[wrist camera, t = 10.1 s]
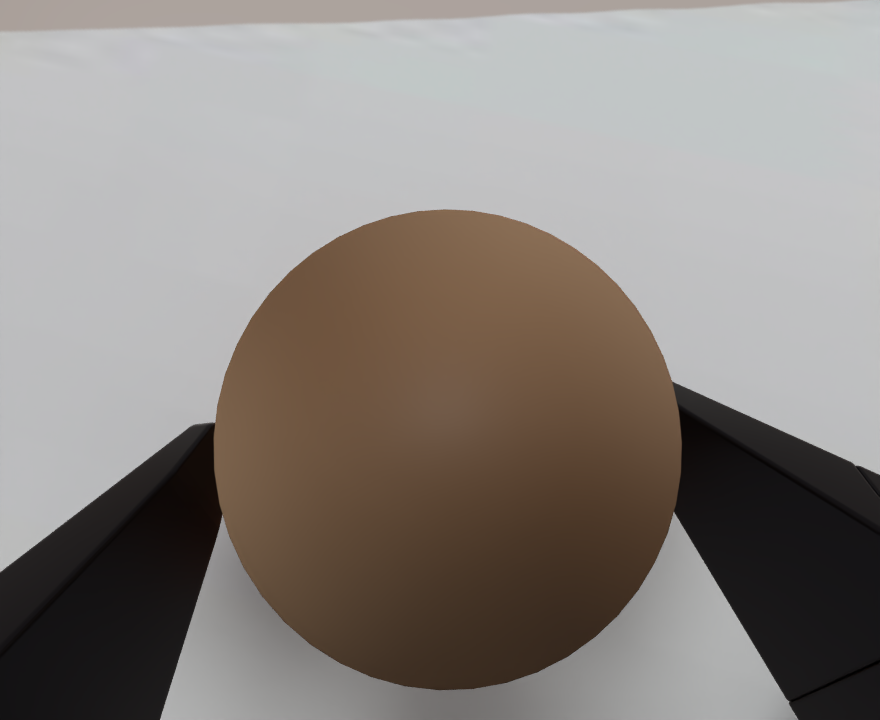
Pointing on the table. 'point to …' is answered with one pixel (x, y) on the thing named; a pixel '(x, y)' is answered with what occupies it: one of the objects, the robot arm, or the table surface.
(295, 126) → the table surface
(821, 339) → the table surface
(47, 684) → the robot arm
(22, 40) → the table surface
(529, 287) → the walnut peg
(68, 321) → the table surface
